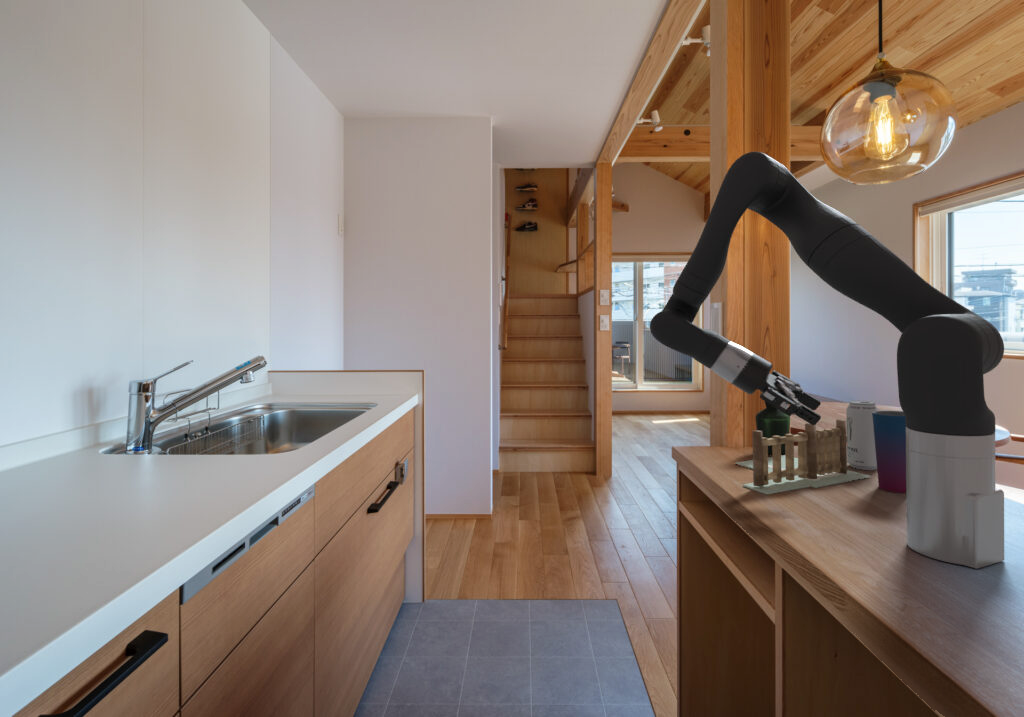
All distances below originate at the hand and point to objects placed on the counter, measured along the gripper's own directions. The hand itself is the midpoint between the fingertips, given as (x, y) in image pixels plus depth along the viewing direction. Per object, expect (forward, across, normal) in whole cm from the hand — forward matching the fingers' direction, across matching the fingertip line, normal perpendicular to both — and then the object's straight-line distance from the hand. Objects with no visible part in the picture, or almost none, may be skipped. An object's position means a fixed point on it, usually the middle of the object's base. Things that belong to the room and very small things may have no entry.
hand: (818, 413), depth 93 cm
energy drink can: (+19, +22, +12) cm, 31 cm away
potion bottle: (+4, +28, +24) cm, 37 cm away
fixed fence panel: (+11, +10, +14) cm, 20 cm away
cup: (+20, +6, +7) cm, 22 cm away
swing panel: (+3, 0, +16) cm, 16 cm away
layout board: (+4, +9, +19) cm, 21 cm away
